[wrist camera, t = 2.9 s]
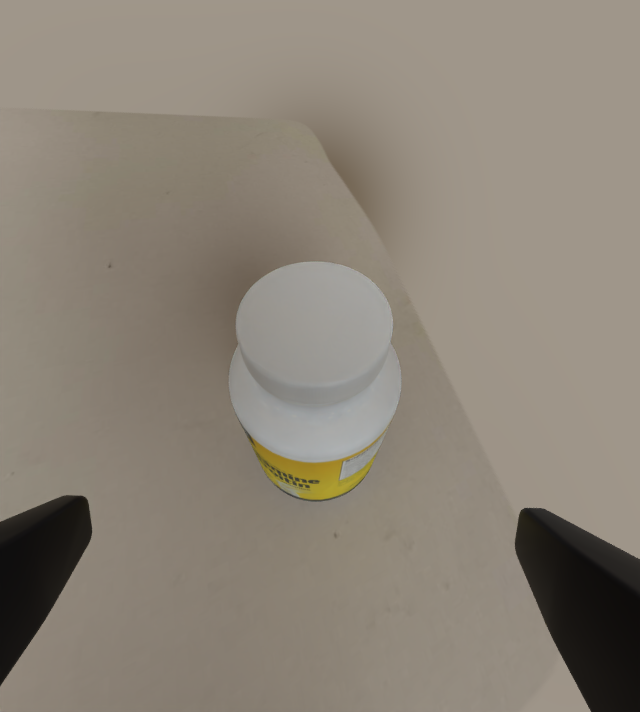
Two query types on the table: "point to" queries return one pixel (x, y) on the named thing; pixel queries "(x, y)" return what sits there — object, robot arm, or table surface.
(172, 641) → the table surface
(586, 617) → the robot arm
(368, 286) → the pill bottle
